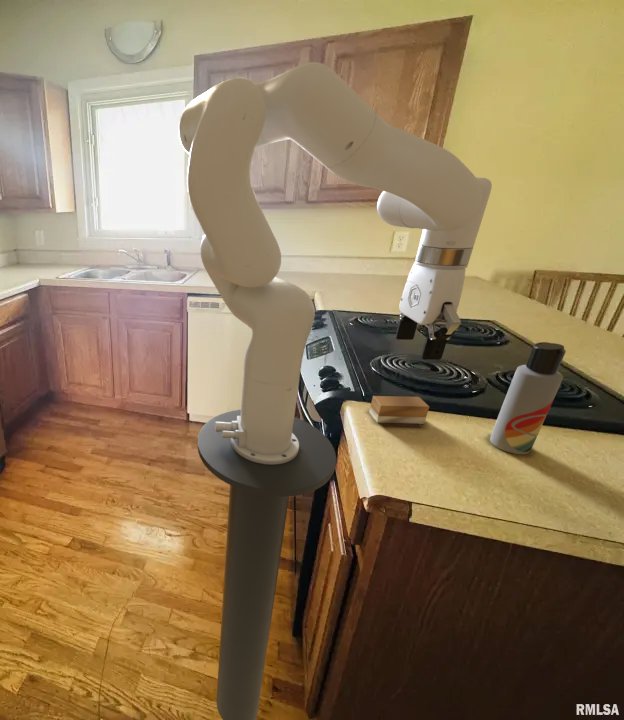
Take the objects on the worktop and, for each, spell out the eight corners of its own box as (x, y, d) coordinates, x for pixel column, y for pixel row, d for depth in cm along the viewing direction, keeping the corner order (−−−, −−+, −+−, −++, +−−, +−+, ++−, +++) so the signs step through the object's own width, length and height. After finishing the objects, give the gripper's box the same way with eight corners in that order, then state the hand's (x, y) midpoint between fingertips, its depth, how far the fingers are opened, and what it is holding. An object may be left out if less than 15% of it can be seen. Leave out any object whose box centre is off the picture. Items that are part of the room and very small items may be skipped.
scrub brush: (376, 422, 80) (380, 405, 78) (368, 412, 84) (372, 395, 82) (424, 423, 79) (429, 406, 77) (414, 413, 82) (419, 396, 81)
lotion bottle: (533, 458, 68) (581, 353, 60) (491, 449, 71) (531, 347, 63) (526, 441, 73) (570, 341, 64) (486, 433, 76) (524, 336, 67)
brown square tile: (383, 426, 79) (384, 425, 79) (371, 410, 84) (371, 409, 84) (421, 427, 78) (421, 426, 78) (406, 411, 83) (407, 410, 83)
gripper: (395, 249, 76) (376, 332, 83) (448, 266, 60) (418, 367, 67) (437, 248, 75) (414, 333, 82) (502, 266, 59) (466, 368, 66)
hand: (416, 348), depth 74 cm, fingers open, 9 cm apart
